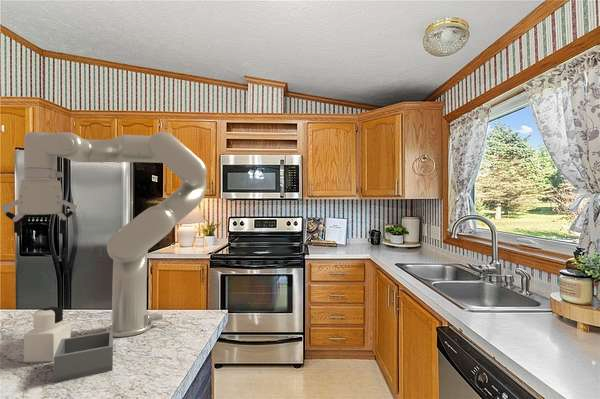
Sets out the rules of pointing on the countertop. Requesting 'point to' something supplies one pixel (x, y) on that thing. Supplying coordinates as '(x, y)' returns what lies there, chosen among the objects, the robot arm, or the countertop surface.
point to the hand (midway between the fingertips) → (41, 234)
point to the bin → (83, 356)
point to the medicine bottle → (45, 335)
